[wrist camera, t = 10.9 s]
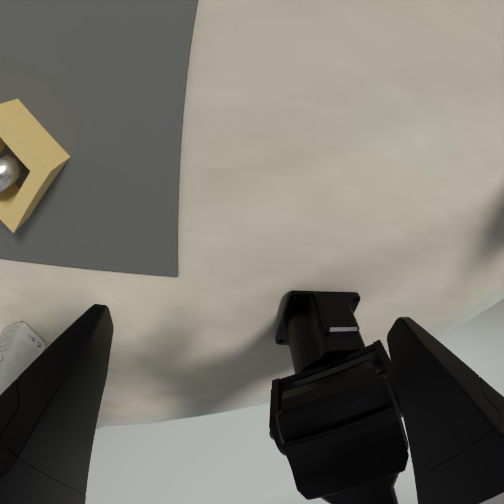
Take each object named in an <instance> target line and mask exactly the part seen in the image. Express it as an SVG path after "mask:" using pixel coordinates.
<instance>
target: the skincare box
mask: <svg viewBox="0 0 504 504" xmlns="http://www.w3.org/2000/svg"><path fill="white" fill-rule="evenodd" d="M45 346H46V344H45V343H44V341H43V340H42V339H41V338H40V337H39V336H38V335H37V334H36V333H35V332H34V331H33V330H32V329H31V328H30V327H29V326H28V325H27V324H26V323H25V322H19V323H16V324H14V325H11V326H9V327H7V328H6V329H4V330H3V332H2V334H1V336H0V395H1V394H2V393H3V392H4V391H5V390H6V389H7V388H8V387H9V386H10V384H11V383H12V382H13V381H14V380H15V379H17V377H18V376H19V375H20V374H21V373H22V372H23V371H24V370H25V369H26V368H27V367H28V366H29V365H30V364H31V363H32V362H33V361H34V360H35V359H36V358H37V357H38V356H39V355H40V354H41V353H42V352H43V351H44V349H45Z"/></svg>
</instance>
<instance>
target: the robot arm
mask: <svg viewBox="0 0 504 504" xmlns="http://www.w3.org/2000/svg"><path fill="white" fill-rule="evenodd" d="M294 296H296V297H294ZM354 298H355V299H354ZM359 301H360V296H359V294H358V293H356V292H321V291H291V292H290V293H289V294H288V297H287V300H286V304H285V307H284V311H283V314H282V317H281V321H280V324H279V327H278V331H277V334H276V337H275V341H276V343H277V344H279V345H289V346H290V351H291V356H292V361H293V366H294V372H295V374H294V375H291V376H288V377H285V378H282V379H279V378H278V379H275V380H272V389H271V403H270V423H269V428H270V437H271V438H272V439H273V440H275V443H276V445H277V447H278V449H279V451H280V452H281V453H282V454H283V455H286V456H287V458H288V461H289V464H290V466H291V469H292V472H293V476H294V480H295V483H296V487H297V490H298V491H299V492H300V493H301V494H302V495H303V496H304V497H305V498H306V499H308V500H310V499H315V498H322V499H323V500H325V501H327V502H328V503H330V504H398V501H397V497H396V493H395V489H394V484H395V482H396V479H397V477H398V474H399V473H400V472H403V471H404V470H405V468H406V464H407V460H408V456H409V455H408V451H407V450H408V441H409V446H410V452H411V458H412V463H413V469H414V476H415V483H416V490H417V498H418V504H504V397H503V396H502V395H501V394H499V393H498V392H497V391H496V390H495V389H493V388H492V387H491V386H490V385H489V384H488V383H486V382H485V381H484V380H483V379H482V378H481V377H479V375H477V374H476V373H475V372H474V371H473V370H472V369H470V368H469V367H468V366H467V365H466V364H465V363H464V362H462V361H461V360H460V359H459V358H458V357H457V356H456V355H454V354H453V353H452V352H451V351H450V350H449V349H447V348H446V347H445V346H444V345H443V344H441V343H440V342H439V341H438V340H437V339H435V338H434V337H433V336H432V335H431V334H429V333H428V332H427V331H426V330H425V329H423V328H422V327H421V326H420V325H418V324H417V323H416V322H415V321H414V320H412V319H411V318H410V317H399V318H397V320H396V321H395V323H394V324H393V326H392V328H391V329H390V331H389V332H388V335H387V342H388V348H389V353H390V359H391V360H390V359H389V357H388V355H387V353H386V351H385V349H384V347H383V345H382V343H381V341H380V340H377V341H375V342H373V344H371V345H369V346H367V347H365V344H364V342H363V340H362V337H361V335H360V332H359V326H358V323H357V321H356V319H355V316H354V312H355V310H356V308H357V305H358V303H359ZM112 336H113V323H112V319H111V315H110V311H109V308H108V307H107V306H106V305H99V304H94V305H93V306H91V307H90V308H89V309H88V310H87V311H86V312H85V313H84V314H83V315H82V316H80V317H79V318H78V319H77V320H76V321H75V322H74V323H73V324H72V325H71V326H70V327H68V328H67V329H66V330H65V331H64V332H63V333H62V334H61V335H60V336H59V337H58V338H57V339H56V340H55V341H54V342H53V343H52V344H50V345H49V346H48V347H47V348H46V349H45V350H44V351H43V352H42V353H41V354H40V355H39V356H38V357H37V358H36V359H35V360H34V361H33V362H32V363H31V364H30V365H29V366H28V367H27V368H26V369H25V370H24V371H23V372H22V373H21V374H20V375H19V376H18V377H17V379H15V380H14V381H13V382H12V383H11V384H10V386H9V387H8V388H7V389H6V390H5V391H4V392H3V393H2V394H1V395H0V504H85V499H86V495H85V494H86V488H87V479H88V472H89V465H90V458H91V451H92V445H93V440H94V434H95V429H96V423H97V418H98V413H99V409H100V404H101V399H102V395H103V391H104V386H105V382H106V377H107V371H108V363H109V356H110V349H111V342H112ZM401 417H403V418H404V422H405V427H406V432H407V437H408V441H407V437H406V434H405V430H404V426H403V423H402V419H401Z"/></svg>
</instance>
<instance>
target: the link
mask: <svg viewBox="0 0 504 504" xmlns="http://www.w3.org/2000/svg"><path fill="white" fill-rule="evenodd" d="M6 144H7V145H8V147H9V148H10V149H11V150H12V151H13V152H14V154H15V155H16V156H17V157H18V158H19V159H20V160H21V161H22V163H23V164H24V165H25V166H26V167H27V168H28V169H29V170H30V173H29V175H28V176H27V178H26V180H25V181H24V183H23V185H22V187H21V188H19V187H18V186H17V184H16V183H15V182H14V183H12V184H11V185H10V186H8V187H7V188H6V189H5V190H3V191H2V192H1V193H0V220H1V221H2V222H3V223H4V224H5V225H6V226H7V227H8V228H9V229H10V230H11V231H12V232H13V233H14V232H15V231H16V230H17V229H18V228H19V227H20V226H21V225H22V224H23V223H24V222H25V221H26V220H27V219H28V218H29V217H30V216H31V214H32V212H33V211H34V209H35V208H36V206H37V204H38V203H39V201H40V200H41V198H42V197H43V195H44V193H45V192H46V190H47V189H48V187H49V186H50V185H51V183H52V182H53V180H54V179H55V177H56V176H57V175H58V173H59V172H60V170H61V169H62V168H63V166H64V165H65V164H66V162H67V161H68V160H69V158H70V156H69V155H68V154H67V153H66V152H65V151H64V150H63V148H62V147H61V146H60V145H59V144H58V143H57V142H56V141H55V140H54V139H53V138H52V137H51V135H50V134H49V133H48V132H47V131H46V130H45V129H44V128H43V127H42V126H41V124H40V123H39V122H38V121H37V120H36V119H35V118H34V117H33V115H32V114H31V113H30V112H29V111H28V110H27V109H26V107H25V106H24V105H23V104H22V103H21V102H20V100H19V99H14V100H11V101H8V102H5V103H2V104H0V154H1V152H2V150H3V149H4V147H5V145H6Z"/></svg>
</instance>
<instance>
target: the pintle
mask: <svg viewBox="0 0 504 504" xmlns="http://www.w3.org/2000/svg"><path fill="white" fill-rule="evenodd" d="M27 172H29V169H28V168H27V167H26V166H25V165H24V164H23V163H22V161H21V160H20V159H19V158H18V157H17V156H16V155H15V154H14V152H11V153H9V154H7V155H6V156H4V157H2V158H1V159H0V193H1V192H2V191H3V190H5V189H6V188H7V187H8V186H10V185H11V184H12V183H14V182H15V181H16V180H18V179H19V178H20V177H22V176H23V175H25V174H26V173H27Z"/></svg>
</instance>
